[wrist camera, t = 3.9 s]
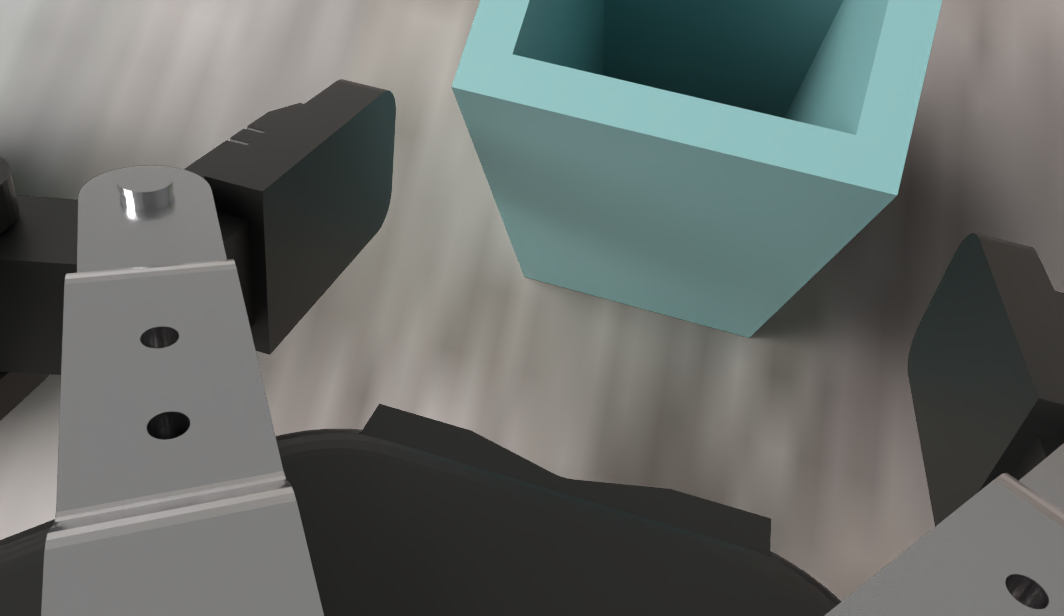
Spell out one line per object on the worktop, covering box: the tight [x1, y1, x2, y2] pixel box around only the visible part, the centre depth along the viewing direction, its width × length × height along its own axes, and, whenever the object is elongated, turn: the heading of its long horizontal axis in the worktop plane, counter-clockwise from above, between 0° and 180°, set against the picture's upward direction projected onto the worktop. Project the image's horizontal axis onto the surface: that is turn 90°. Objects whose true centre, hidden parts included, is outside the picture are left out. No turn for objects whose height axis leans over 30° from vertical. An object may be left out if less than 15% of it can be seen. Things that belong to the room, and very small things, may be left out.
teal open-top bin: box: [452, 0, 942, 338], centre depth 15 cm, size 5×5×10 cm
